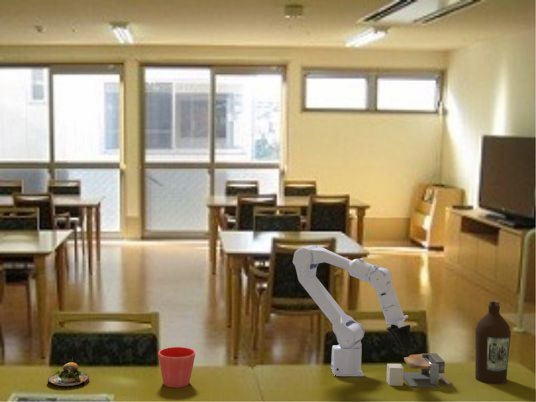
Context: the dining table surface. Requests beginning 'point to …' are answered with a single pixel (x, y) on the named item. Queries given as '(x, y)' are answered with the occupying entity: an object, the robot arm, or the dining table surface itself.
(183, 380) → the flower pot
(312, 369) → the dining table surface
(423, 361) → the trapdoor
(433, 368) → the frame
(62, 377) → the burger
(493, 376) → the olive oil
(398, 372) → the white rectangular block
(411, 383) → the mat
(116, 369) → the dining table surface
